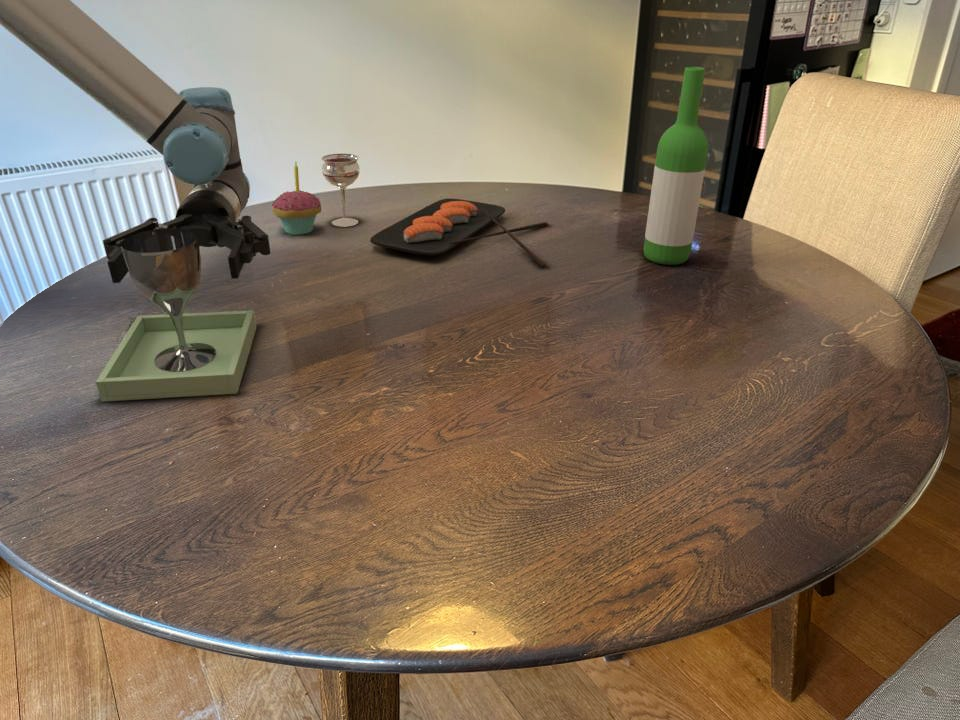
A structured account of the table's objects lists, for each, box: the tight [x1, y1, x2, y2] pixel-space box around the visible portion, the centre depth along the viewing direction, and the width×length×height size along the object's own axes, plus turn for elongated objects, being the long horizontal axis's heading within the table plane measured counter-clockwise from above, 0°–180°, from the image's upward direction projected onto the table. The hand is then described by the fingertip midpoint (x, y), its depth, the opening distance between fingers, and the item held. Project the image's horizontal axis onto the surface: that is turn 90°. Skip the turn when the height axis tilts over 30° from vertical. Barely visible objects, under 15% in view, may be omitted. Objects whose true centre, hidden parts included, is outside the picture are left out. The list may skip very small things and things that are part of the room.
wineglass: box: [320, 152, 361, 228], centre depth 129 cm, size 7×7×12 cm
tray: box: [95, 310, 257, 403], centre depth 85 cm, size 15×17×3 cm
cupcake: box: [271, 161, 322, 236], centre depth 125 cm, size 9×8×12 cm
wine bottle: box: [643, 66, 709, 266], centre depth 111 cm, size 8×8×30 cm
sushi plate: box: [369, 198, 548, 268], centre depth 124 cm, size 29×30×4 cm
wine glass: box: [121, 228, 216, 372], centre depth 82 cm, size 8×8×15 cm
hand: (173, 270), depth 83 cm, fingers open, 13 cm apart
